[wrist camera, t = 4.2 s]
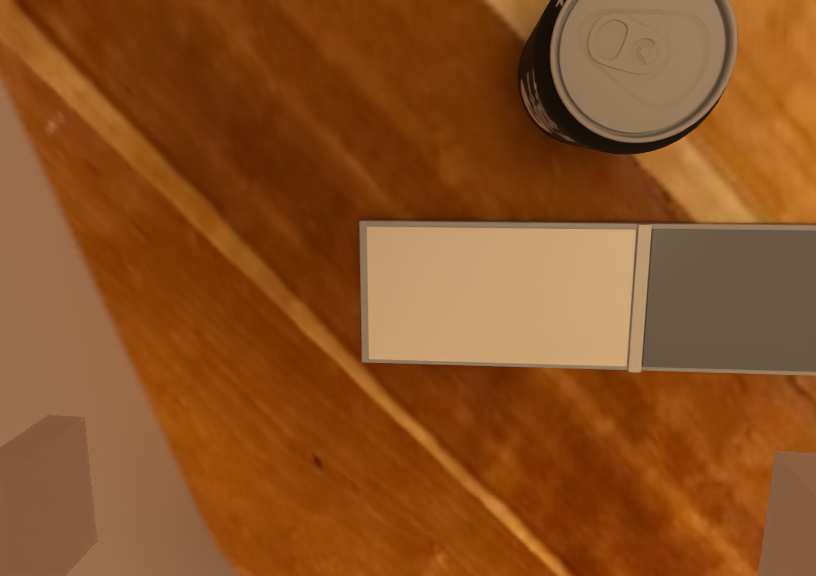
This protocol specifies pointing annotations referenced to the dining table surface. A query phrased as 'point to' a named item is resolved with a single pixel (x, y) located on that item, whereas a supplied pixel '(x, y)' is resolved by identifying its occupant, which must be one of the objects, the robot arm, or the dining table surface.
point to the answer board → (590, 295)
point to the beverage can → (627, 70)
